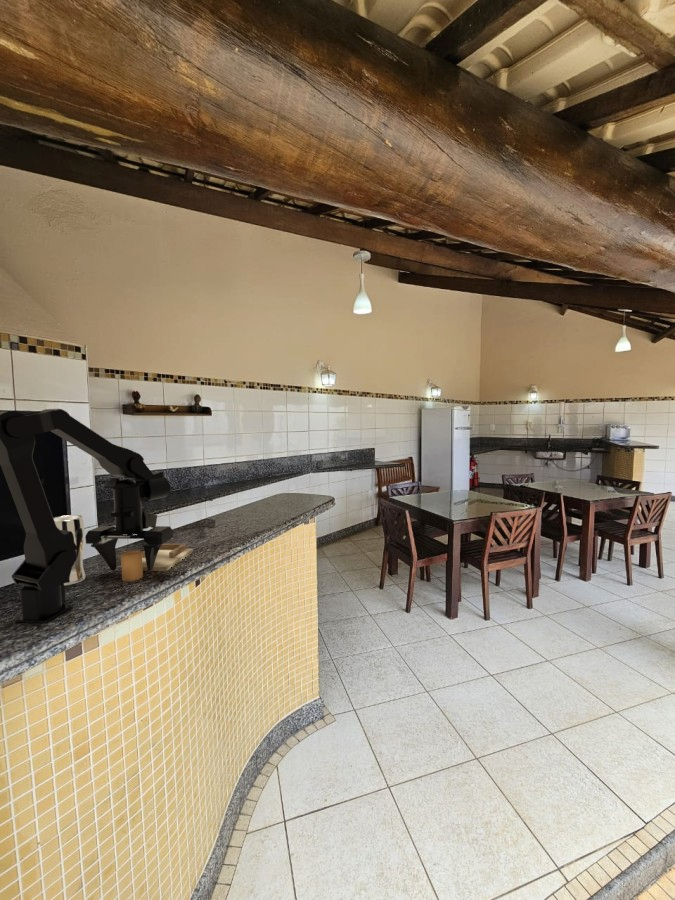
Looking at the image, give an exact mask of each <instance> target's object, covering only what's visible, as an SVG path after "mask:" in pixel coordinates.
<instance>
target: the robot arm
mask: <svg viewBox="0 0 675 900" xmlns="http://www.w3.org/2000/svg"><path fill="white" fill-rule="evenodd" d="M47 432H51V433H53V434H55V435H56V436H58V437H60V438H61V439H63V440H64V441H66V442H68V443H69V444H71V445H73V446H74V447H76V448H78V449H80V450H81V451H83V452H85V453H86V454H88V455H90V456H91V457H93V458H94V459H95V460H96V461H97V462H98V464H99V465H100V467H101V468H102V469H104V470H105V471H106V473H108V474H109V475H110V476H112V477H111V478H109V480H108V482H106V483H105V484H104V485H103V489H104V490H112V491H113V493H112V494H113V507H114V511H111V512H110V517H111V518H114V524H115V525H100V526H98V527H96V528H95V527H94V528H92V529H90V530H87V532H86V534H85V544H86V545H90V547H91V548H94V549H95V550H96V551H97V553H98V554H99V555H100V556H101V557H102V558H103V560H104V561H105V563H106V565H108V567H109V568H110V570H111V571H115V570H116V569H117V551H116V550H117V548H116V545H117V542H118V540H119V539H121V540H122V539H123V540H124V539H125V540H126V539H127V540H128V539H129V540H130V539H131V540H132V539H133V540H135V539H136V540H140V539H141V540H142V539H143V541H144V542H145V543H146V544H145V545H143V551H144V552H145V558H146V564H147V568H148V571H147V572H152V571H151V570H152V569H153V566H154V563H155V560H156V557H157V554H158V551H159V549H160V547H161V545H162V544H166V543H167V542H168V541H170V540H171V539H173V538H174V530H173V528H172V527H171V526H169V525H167V526H165V525H159V526H158V525H157V519H158V514H153V513H148V512H147V509H146V506H143V504H142V502H146V503H147V502H150V501H153V500H158V499H163V498H166V497H168V496H169V495H170V493H171V489H172V487H171V484H170V482H169V479H168V478H167V477H165V473H164V471H153V472H152V471H151V469H150V468H149V467H148V466H147V464H146V463H145V461H144V460H145V458H144V457H143V456H142V455H141V454H140V453H139V452H136V451H134V450H132V449H129V448H128V447H127V448H125V447H122V446H120V445H116V444H113V443H112V442H111V441H109V440H107V439H106V438H105V437H103V436H102V435H100V434H98V433H97V432H95V431H94V430H93V429H91V428H89V427H88V426H87V425H85V424H83V423H82V422H81V421H80V420H77V419H76V418H74V417H73V416H71V415H70V414H69V412H67V411H66V410H64V409H62V408H48V409H43V410H39V411H31V412H26V413H25V412H24V413H22V412H19V411H15V410H9V411H8V410H7V411H6V410H5V411H0V467H1V470H2V474H3V475H4V478H5V481H6V483H7V486H8V489H9V491H10V493H11V497H12V500H13V502H14V504H15V508H16V511H17V513H18V515H19V518H20V521H21V523H22V526H23V529H24V531H25V538H24V542H23V543H24V544H23V553H24V554H23V555H24V560H23V561H22V563H21V564H20V565H19V566H18V567H17V568H16V570H15V571H14V572H13V573H12V574H11V578H12V581H13V582H14V584H15V585H16V586H23V588H22V589H20V602H21V611H22V613H21V615H20V616H18V617H16V618H14V621H15V622H16V623H37V624H38V623H41V624H42V623H43V624H44V623H49V622H50V621H51V620H53V619H55V618H56V617H58V616H60V615H61V614H63V613H65V612H66V611H68V610H70V609H71V608H72V604H69V603H68V604H67V603H66V593H65V586H64V583H67V582H68V581H69V577H70V574H71V570H72V566H73V565H74V563H75V561H76V560H77V553H76V550H79V548H78V547H77V546H76V544H75V542H74V535H73V533H72V532H71V531H65V530H59V529H58V528H57V526H56V524H55V521H54V518H55V517H54V516H53V512H52V510H51V507H50V504H49V501H48V499H47V496H46V494H45V491H44V487H43V484H42V482H41V479H40V476H39V473H38V470H37V467H36V464H35V462H34V459H33V454H34V450H35V445H36V437H35V435H40V434H43V433H47ZM116 477H117V478H116ZM118 477H119V478H120V477H121V478H123V479H119V478H118ZM134 480H135V481H134ZM148 528H150V529H148ZM147 529H148V530H147Z"/></svg>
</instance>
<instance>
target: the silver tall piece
mask: <svg viewBox="0 0 675 900" xmlns="http://www.w3.org/2000/svg"><path fill="white" fill-rule="evenodd" d="M53 518H54V521H55V524H56V526H57V528H58V529H59V530H65V531H71V532H72V533H73V535H74V542H75V544H76V546H77V547H78V548H79V550H76V553H77V560H76V561H75V563H74V565H73V566H72V570H71V574H70V577H69V581H68V582H67V583H64V587H65V586H71V585H75V584H78V583H81V582H83V581H85V579H86V573H85V569H84V563H83V560H84V549H85V544H86V539H85V536H86V534H85V532H86V531H85V525H84V524H85V523H84V518H83V515H82V514H69V515H61V516H55V517H53Z"/></svg>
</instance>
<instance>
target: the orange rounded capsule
mask: <svg viewBox="0 0 675 900" xmlns="http://www.w3.org/2000/svg"><path fill="white" fill-rule="evenodd" d="M142 552H143V551H142V550H140V549H139V550H138V549H134V550H128V551H125V552H122V553H121V554H120V563H121V564H120V565H121V566H120V568H121V567H122V570H121V579H122V581H123V582H135V581H138V580H141V579H142V578H144V571H143V566H142ZM140 578H141V579H140Z"/></svg>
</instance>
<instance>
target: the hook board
mask: <svg viewBox="0 0 675 900" xmlns="http://www.w3.org/2000/svg"><path fill="white" fill-rule="evenodd" d="M186 546H187V545H186V543H164V544H162V545H161V547H160V549H159V551H158V554H157V557H156V560H155V563H154V566H153V569H152V570H151V571H150V572H153V571H154V572H158V571H159V572H160V571H161V572H167V571H169V570H170V569H171V567H172V568H173V567H174V566H176V565H177V564H178V562H179V563H181V561H183V560H184V559H186V558H188V557H189V556H190V555H191V554H193V552H194V549H193V548H187V547H186ZM185 557H186V558H185ZM182 559H183V560H182ZM175 564H176V565H175ZM142 566H143V572H144V571H147V572H149V571H148V568H147V564H146V558H145V552H144V550H143V551H142ZM120 570H121V571H122V567H121V566H120Z"/></svg>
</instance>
